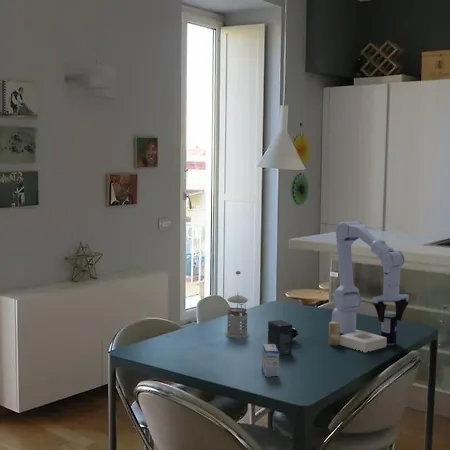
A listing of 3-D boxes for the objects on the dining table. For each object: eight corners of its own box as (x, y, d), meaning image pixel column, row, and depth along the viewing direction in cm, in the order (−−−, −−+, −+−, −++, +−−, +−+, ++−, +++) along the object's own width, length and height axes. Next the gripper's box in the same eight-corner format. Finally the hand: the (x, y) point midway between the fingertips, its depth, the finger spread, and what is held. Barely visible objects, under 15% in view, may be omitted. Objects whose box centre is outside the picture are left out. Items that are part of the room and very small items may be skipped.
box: (291, 353, 248) (292, 324, 247) (278, 355, 246) (278, 325, 245) (280, 347, 255) (281, 319, 254) (267, 349, 253) (267, 320, 252)
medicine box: (261, 369, 230) (262, 343, 229) (274, 369, 231) (275, 343, 230) (264, 377, 222) (265, 350, 221) (278, 377, 223) (279, 350, 222)
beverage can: (396, 346, 259) (397, 314, 258) (380, 345, 260) (382, 313, 259) (395, 342, 265) (397, 311, 263) (380, 341, 266) (381, 310, 264)
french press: (220, 335, 270) (221, 271, 267) (231, 328, 281) (232, 267, 278) (244, 338, 266) (245, 274, 263) (254, 331, 277) (256, 269, 274)
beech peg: (326, 343, 261) (326, 322, 260) (333, 341, 264) (334, 321, 263) (334, 346, 258) (334, 324, 257) (341, 344, 261) (342, 323, 260)
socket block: (339, 344, 260) (340, 335, 260) (361, 339, 267) (361, 330, 267) (364, 352, 251) (365, 342, 250) (386, 346, 258) (386, 337, 258)
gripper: (381, 287, 249) (379, 325, 250) (414, 285, 254) (413, 321, 256) (370, 284, 255) (368, 320, 257) (402, 281, 261) (401, 317, 262)
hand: (389, 320), depth 257 cm, fingers open, 7 cm apart
